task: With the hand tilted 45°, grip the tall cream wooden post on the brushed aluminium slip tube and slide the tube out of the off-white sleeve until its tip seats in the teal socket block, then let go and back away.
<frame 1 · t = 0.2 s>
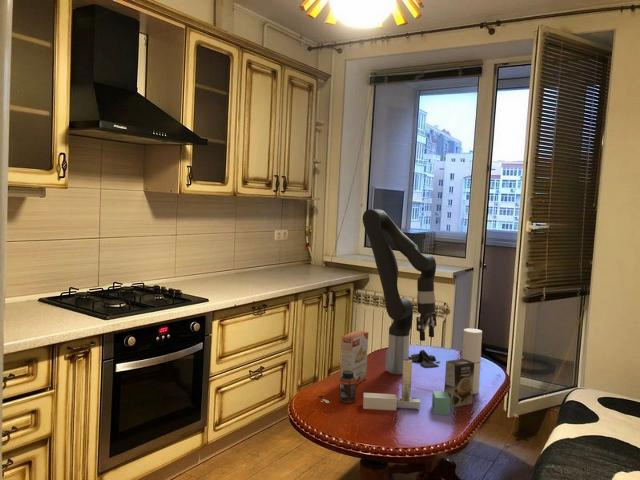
hand: (427, 338, 222), 18 cm above the table, tool pointing down, fingers open, 8 cm apart
cracker box: (353, 383, 216), on the table
cloth: (424, 362, 251), on the table
supplement bottle: (347, 401, 196), on the table
sleeve: (379, 401, 191), on the table
socket: (440, 402, 189), on the table
cylindrical container: (469, 391, 211), on the table
coffee box: (457, 403, 197), on the table
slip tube: (393, 382, 190), point 9 cm above the table, slide at 0.0 cm
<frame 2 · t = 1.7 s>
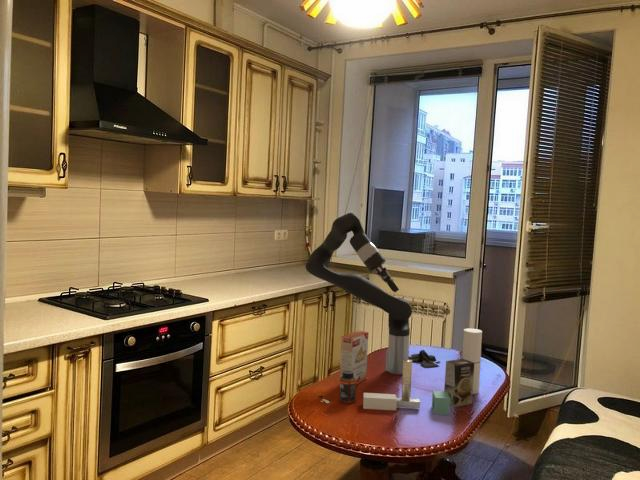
hand: (396, 290, 196), 42 cm above the table, tool tilted 40°, fingers open, 8 cm apart
nothing on the table moved.
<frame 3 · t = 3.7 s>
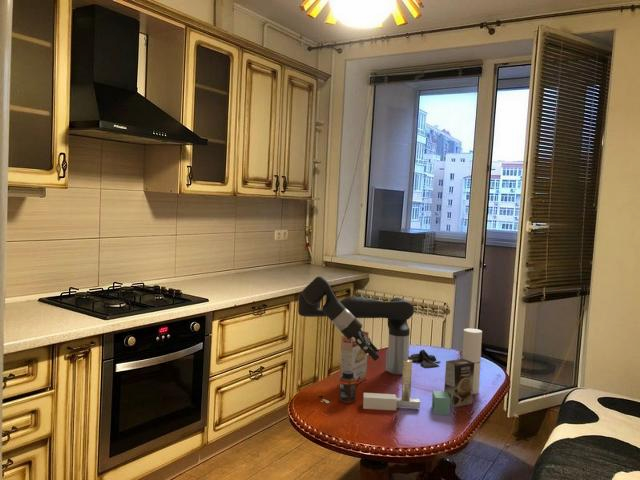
hand: (376, 355, 189), 19 cm above the table, tool tilted 45°, fingers open, 8 cm apart
nothing on the table moved.
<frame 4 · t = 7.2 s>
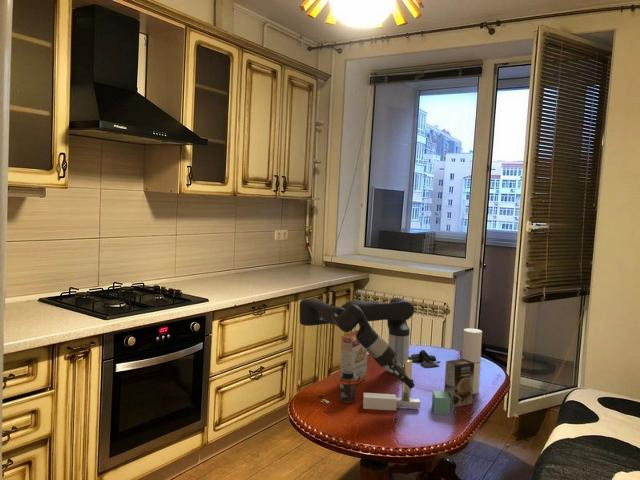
hand: (412, 385, 189), 9 cm above the table, tool tilted 45°, fingers closed on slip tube, 3 cm apart
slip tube: (393, 382, 190), point 9 cm above the table, slide at 0.0 cm, touching gripper
everything else where it was.
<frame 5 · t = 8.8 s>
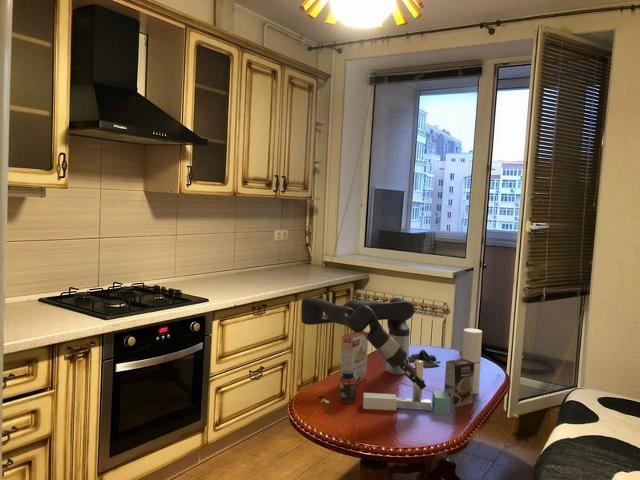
hand: (423, 385, 189), 9 cm above the table, tool tilted 45°, fingers closed on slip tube, 3 cm apart
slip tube: (404, 383, 190), point 9 cm above the table, slide at 4.1 cm, touching gripper
everything else where it was.
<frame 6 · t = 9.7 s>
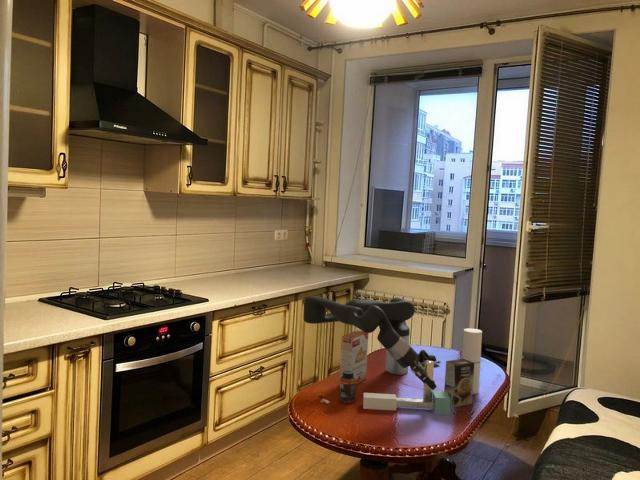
hand: (433, 386, 189), 9 cm above the table, tool tilted 45°, fingers closed on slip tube, 3 cm apart
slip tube: (415, 383, 189), point 9 cm above the table, slide at 7.9 cm, touching gripper
everything else where it was.
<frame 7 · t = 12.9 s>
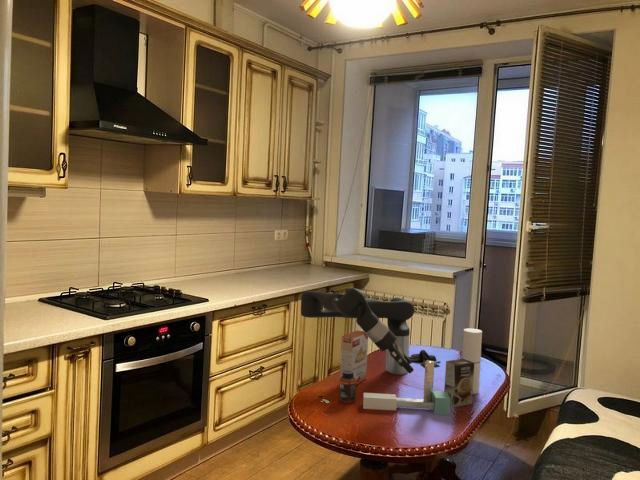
hand: (410, 367, 188), 16 cm above the table, tool tilted 45°, fingers open, 8 cm apart
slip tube: (415, 383, 189), point 9 cm above the table, slide at 8.0 cm
everything else where it was.
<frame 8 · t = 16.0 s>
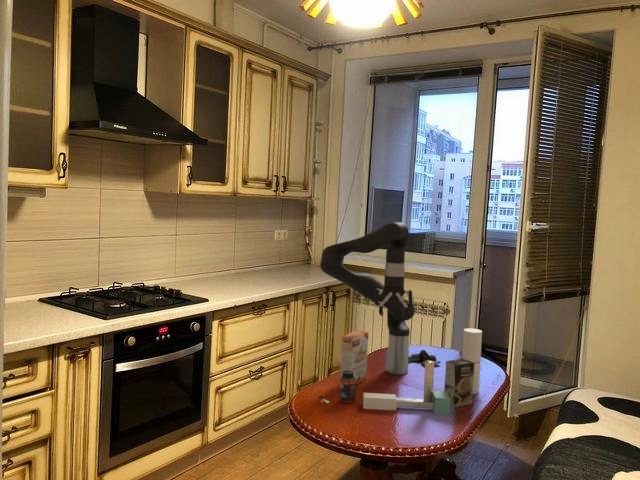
hand: (392, 316, 198), 32 cm above the table, tool pointing down, fingers open, 8 cm apart
nothing on the table moved.
at the end: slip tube slide at 8.0 cm; the gripper is holding nothing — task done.
